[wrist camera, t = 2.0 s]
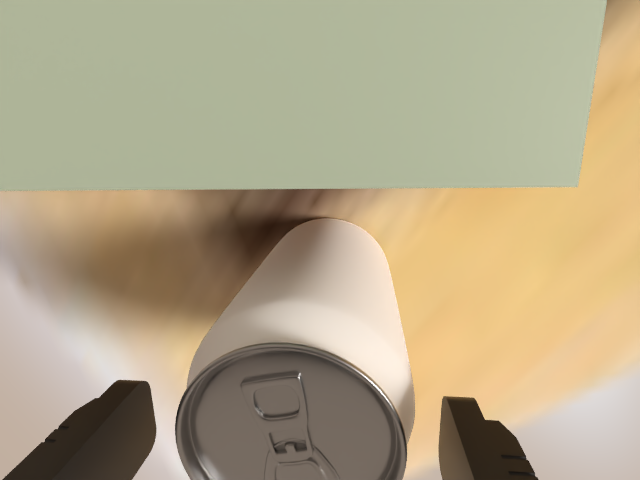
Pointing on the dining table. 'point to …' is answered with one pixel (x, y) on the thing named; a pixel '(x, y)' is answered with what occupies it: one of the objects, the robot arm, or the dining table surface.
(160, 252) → the dining table surface
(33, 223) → the dining table surface
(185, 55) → the lid
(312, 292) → the can
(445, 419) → the robot arm
